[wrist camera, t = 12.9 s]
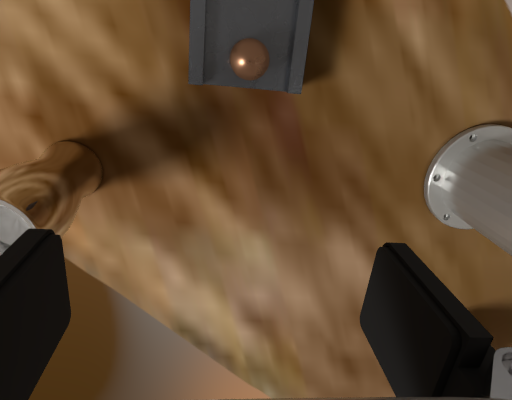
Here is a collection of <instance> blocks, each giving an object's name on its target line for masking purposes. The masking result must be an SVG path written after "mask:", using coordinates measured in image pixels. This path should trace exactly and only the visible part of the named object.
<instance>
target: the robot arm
mask: <svg viewBox="0 0 512 400" xmlns="http://www.w3.org/2000/svg"><path fill="white" fill-rule="evenodd" d="M424 197H425V200H426V204H427V206H428V208H429V210H430V211H431V213H432V214H433V215H434V216H435V217H436V218H437V219H439V220H440V221H441V222H442V223H444V224H446V225H448V226H450V227H454V228H458V229H473V228H474V229H475V230H477V231H478V232H479V233H481V234H482V235H484V236H485V237H486V238H488V239H489V240H490V241H492V242H493V243H495V244H496V245H497V246H499V247H500V248H501V249H503V250H504V251H506V252H507V253H508V254H510V255H511V256H512V128H510V127H506V126H503V125H496V124H486V125H479V126H476V127H473V128H469V129H467V130H465V131H463V132H461V133H459V134H458V135H456V136H455V137H454V138H452V139H451V140H449V141H448V142H447V143H446V144H445V145H444V146H443V147H442V148H441V149H440V151H439V152H438V153H437V155H436V156H435V157H434V159H433V161H432V162H431V164H430V166H429V168H428V171H427V174H426V177H425V183H424ZM70 317H71V309H70V301H69V293H68V285H67V278H66V269H65V262H64V254H63V246H62V239H61V236H60V235H55V233H54V231H53V230H52V229H32V228H30V229H27V230H26V231H25V232H24V233H23V234H22V235H21V236H20V237H19V238H18V239H17V240H16V241H15V242H14V243H13V244H12V245H11V246H9V247H8V248H7V249H6V250H5V251H4V252H3V253H2V254H1V255H0V400H28V399H29V397H30V395H31V393H32V392H33V390H34V388H35V385H36V384H37V382H38V380H39V379H40V377H41V375H42V373H43V371H44V369H45V367H46V366H47V364H48V362H49V360H50V358H51V356H52V354H53V353H54V351H55V349H56V347H57V345H58V343H59V341H60V340H61V338H62V336H63V334H64V332H65V330H66V328H67V327H68V324H69V322H70ZM360 324H361V327H362V330H363V332H364V334H365V336H366V338H367V340H368V342H369V344H370V346H371V348H372V350H373V352H374V354H375V356H376V357H377V359H378V361H379V363H380V365H381V367H382V369H383V371H384V373H385V375H386V377H387V379H388V381H389V383H390V385H391V387H392V389H393V391H394V393H395V395H396V397H367V398H282V399H223V400H512V348H511V347H506V348H500V349H498V350H496V351H495V349H494V348H493V347H492V346H491V345H490V344H491V342H492V340H493V336H492V335H491V334H490V333H489V332H488V331H487V330H486V329H485V328H484V327H483V326H482V325H481V324H480V323H479V322H478V320H477V319H476V318H475V317H474V316H473V315H472V314H471V313H470V312H469V311H468V310H467V309H466V308H465V307H464V305H463V304H462V303H461V302H460V301H459V300H458V299H457V298H456V297H455V296H454V295H453V294H452V293H451V292H450V291H449V289H448V288H447V287H446V286H445V285H444V284H443V283H442V282H441V281H440V280H439V279H438V278H437V277H436V276H435V274H434V273H433V272H432V271H431V270H430V269H429V268H428V267H427V266H426V265H425V264H424V263H423V262H422V261H421V260H420V258H419V257H418V256H417V255H416V254H415V253H414V252H413V251H412V250H411V249H410V248H409V247H408V246H407V245H406V244H405V243H385V244H384V245H383V247H379V248H378V250H377V253H376V257H375V261H374V264H373V268H372V272H371V276H370V280H369V284H368V287H367V291H366V295H365V299H364V303H363V306H362V310H361V314H360ZM220 400H221V399H220Z"/></svg>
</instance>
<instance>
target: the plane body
mask: <svg viewBox="0 0 512 400" xmlns="http://www.w3.org/2000/svg"><path fill="white" fill-rule="evenodd" d="M313 5H314V0H190V43H189V84H195V85H203V84H210V85H221V86H232V87H243V88H254V89H265V90H276V91H286V92H287V93H294V94H301V90H302V83H303V76H304V69H305V62H306V55H307V47H308V40H309V33H310V26H311V19H312V12H313Z"/></svg>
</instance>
